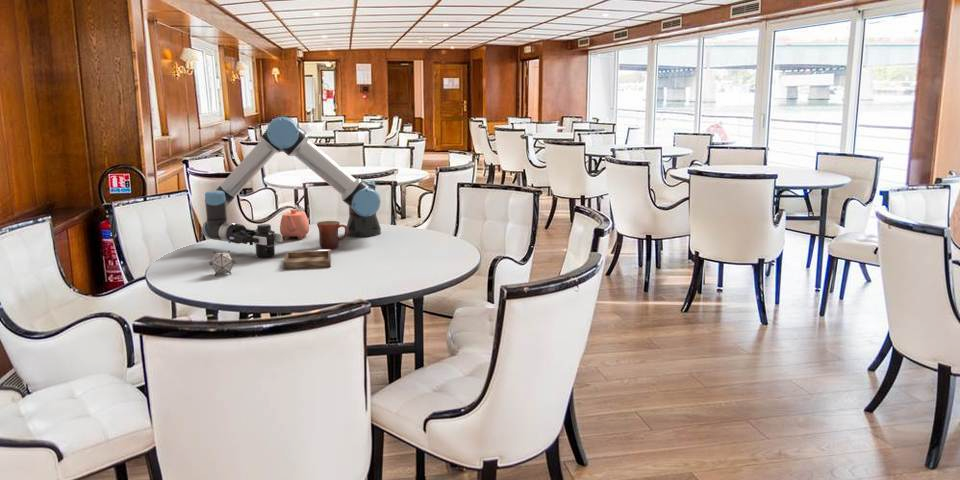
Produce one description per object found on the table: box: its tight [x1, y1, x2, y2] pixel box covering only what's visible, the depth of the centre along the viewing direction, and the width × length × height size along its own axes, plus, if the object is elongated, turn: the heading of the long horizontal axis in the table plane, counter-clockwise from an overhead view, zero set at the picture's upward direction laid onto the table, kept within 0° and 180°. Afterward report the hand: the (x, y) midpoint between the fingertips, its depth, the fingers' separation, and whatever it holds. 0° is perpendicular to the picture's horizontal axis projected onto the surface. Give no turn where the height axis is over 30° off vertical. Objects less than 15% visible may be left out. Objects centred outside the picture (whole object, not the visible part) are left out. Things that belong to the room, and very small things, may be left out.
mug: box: [316, 220, 348, 250], centre depth 280 cm, size 12×9×10 cm
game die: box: [208, 250, 236, 276], centre depth 241 cm, size 9×8×10 cm
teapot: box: [279, 208, 310, 240], centre depth 300 cm, size 20×12×12 cm, turn 2°
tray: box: [283, 250, 332, 270], centre depth 257 cm, size 16×16×2 cm
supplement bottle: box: [255, 223, 276, 259], centre depth 266 cm, size 7×7×12 cm
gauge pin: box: [297, 249, 332, 252], centre depth 268 cm, size 12×2×2 cm, turn 102°
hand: (273, 239), depth 263 cm, fingers closed on supplement bottle, 7 cm apart
